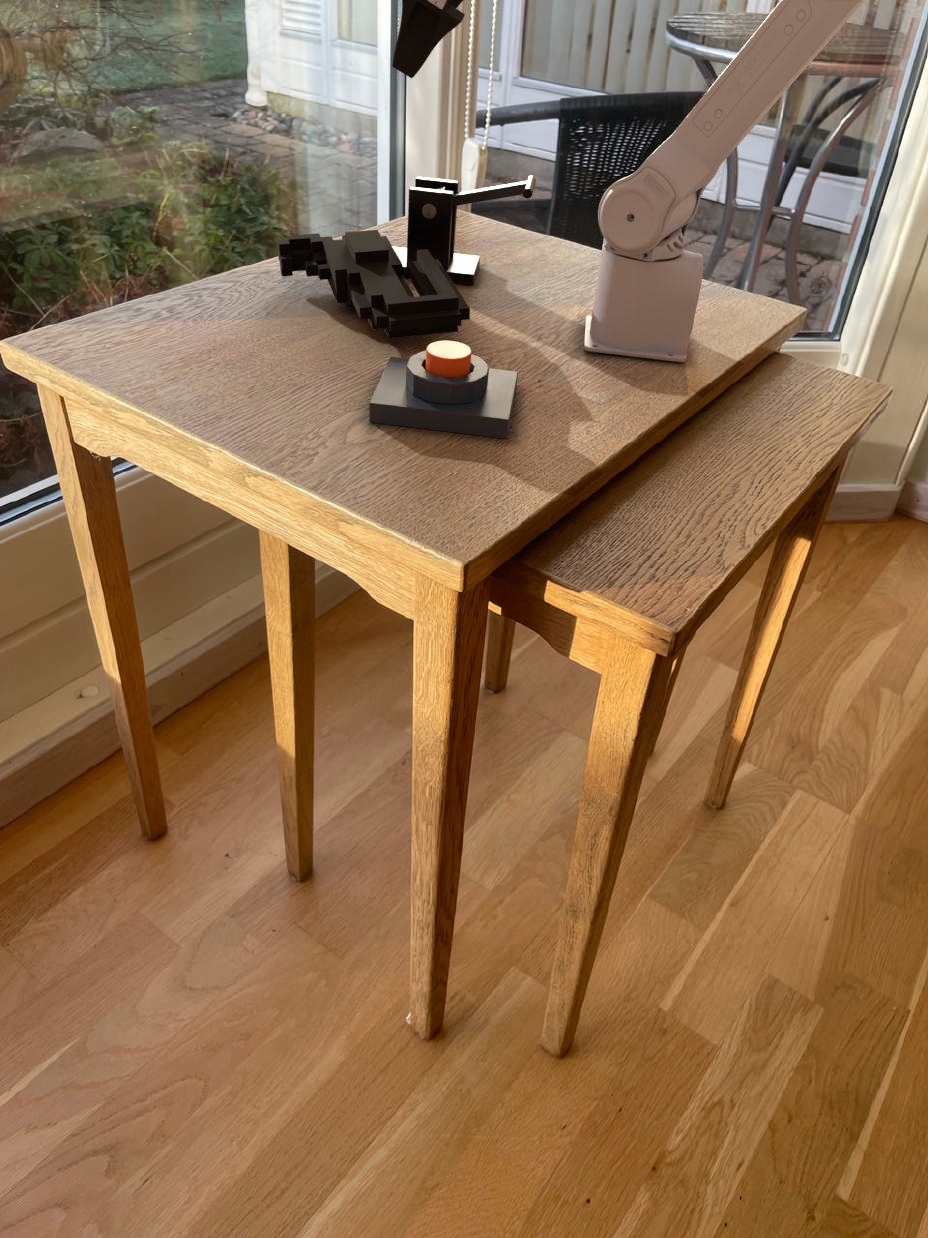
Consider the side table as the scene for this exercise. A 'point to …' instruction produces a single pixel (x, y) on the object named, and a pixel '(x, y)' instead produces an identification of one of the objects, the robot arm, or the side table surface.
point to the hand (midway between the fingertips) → (411, 55)
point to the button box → (445, 398)
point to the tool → (379, 282)
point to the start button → (448, 359)
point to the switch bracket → (436, 230)
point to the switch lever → (494, 192)
